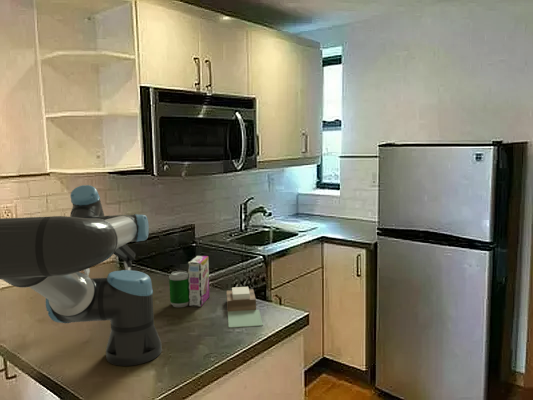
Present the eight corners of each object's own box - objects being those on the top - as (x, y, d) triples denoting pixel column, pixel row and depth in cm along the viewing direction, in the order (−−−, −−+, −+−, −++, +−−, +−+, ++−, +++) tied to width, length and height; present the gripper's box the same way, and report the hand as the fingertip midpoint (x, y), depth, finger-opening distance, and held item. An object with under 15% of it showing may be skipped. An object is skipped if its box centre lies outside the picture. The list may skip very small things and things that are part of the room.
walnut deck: (256, 310, 161) (255, 299, 161) (227, 312, 160) (227, 301, 160) (253, 299, 173) (253, 289, 172) (226, 300, 172) (226, 290, 171)
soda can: (189, 307, 165) (187, 275, 164) (168, 308, 165) (166, 276, 164) (192, 300, 173) (191, 269, 171) (172, 301, 173) (171, 270, 171)
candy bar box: (202, 307, 166) (200, 262, 164) (188, 306, 167) (187, 262, 165) (210, 296, 177) (208, 255, 175) (198, 296, 178) (196, 255, 176)
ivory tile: (249, 299, 161) (249, 293, 161) (232, 300, 161) (232, 294, 161) (248, 291, 169) (248, 286, 169) (232, 292, 169) (231, 287, 168)
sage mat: (262, 325, 147) (262, 324, 147) (228, 328, 146) (228, 327, 146) (258, 310, 161) (258, 309, 161) (227, 312, 160) (227, 311, 160)
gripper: (137, 219, 145) (147, 263, 159) (56, 221, 143) (73, 265, 157) (134, 236, 139) (144, 280, 153) (49, 238, 138) (67, 282, 152)
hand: (108, 272), depth 155 cm, fingers open, 13 cm apart
